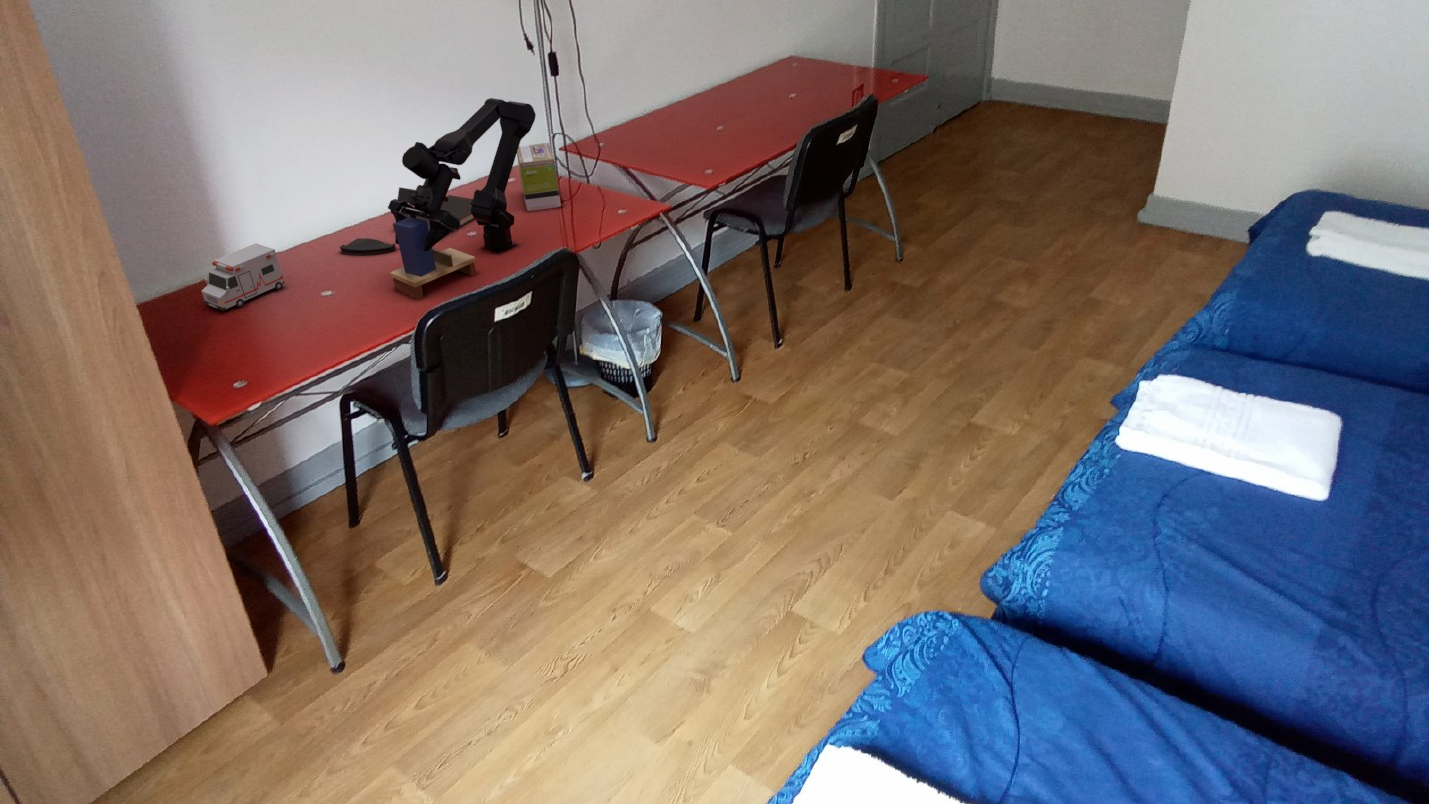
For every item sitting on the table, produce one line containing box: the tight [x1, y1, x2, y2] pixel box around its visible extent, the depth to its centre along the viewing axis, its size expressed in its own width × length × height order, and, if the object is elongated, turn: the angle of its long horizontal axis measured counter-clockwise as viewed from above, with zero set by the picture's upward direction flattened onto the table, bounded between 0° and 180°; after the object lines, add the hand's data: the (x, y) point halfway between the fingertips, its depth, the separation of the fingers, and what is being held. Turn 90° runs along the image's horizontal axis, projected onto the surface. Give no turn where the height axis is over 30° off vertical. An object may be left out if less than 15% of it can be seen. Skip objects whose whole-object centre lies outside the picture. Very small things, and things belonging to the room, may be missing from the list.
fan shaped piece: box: [339, 237, 397, 256], centre depth 262 cm, size 8×14×2 cm, turn 70°
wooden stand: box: [389, 247, 477, 300], centre depth 242 cm, size 18×10×8 cm, turn 140°
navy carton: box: [394, 217, 436, 277], centre depth 236 cm, size 5×6×12 cm
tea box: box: [516, 142, 562, 212], centre depth 284 cm, size 15×10×15 cm, turn 14°
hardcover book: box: [392, 194, 475, 232], centre depth 278 cm, size 16×23×2 cm
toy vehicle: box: [201, 242, 285, 311], centre depth 238 cm, size 10×17×10 cm, turn 146°
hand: (410, 247), depth 234 cm, fingers open, 9 cm apart
